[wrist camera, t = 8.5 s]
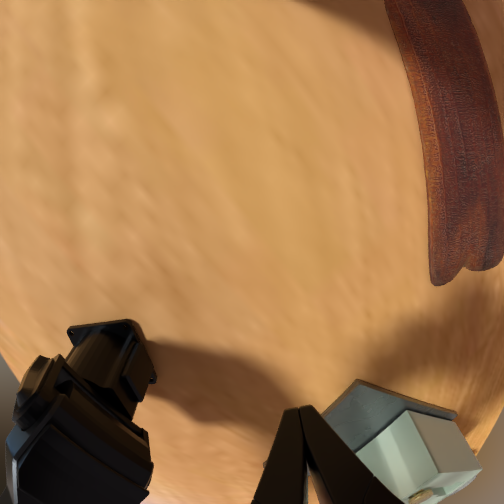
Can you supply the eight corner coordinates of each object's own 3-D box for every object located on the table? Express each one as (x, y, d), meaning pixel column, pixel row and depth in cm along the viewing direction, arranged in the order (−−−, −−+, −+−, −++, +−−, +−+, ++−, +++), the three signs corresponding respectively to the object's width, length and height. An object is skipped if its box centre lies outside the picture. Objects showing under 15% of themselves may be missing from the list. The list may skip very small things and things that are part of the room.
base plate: (263, 463, 29) (269, 542, 19) (356, 378, 25) (397, 475, 15) (374, 478, 33) (393, 533, 23) (455, 411, 29) (490, 468, 19)
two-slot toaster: (324, 475, 30) (337, 533, 21) (406, 409, 26) (438, 473, 18) (383, 479, 32) (399, 525, 24) (454, 421, 28) (482, 469, 20)
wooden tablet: (498, 259, 22) (509, 265, 21) (422, 287, 23) (432, 296, 21) (456, -16, 13) (466, -21, 12) (363, -34, 14) (370, -43, 12)
